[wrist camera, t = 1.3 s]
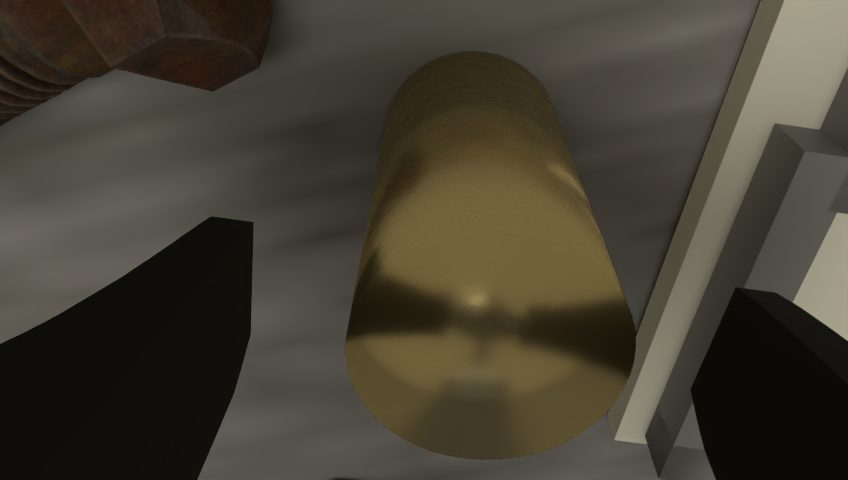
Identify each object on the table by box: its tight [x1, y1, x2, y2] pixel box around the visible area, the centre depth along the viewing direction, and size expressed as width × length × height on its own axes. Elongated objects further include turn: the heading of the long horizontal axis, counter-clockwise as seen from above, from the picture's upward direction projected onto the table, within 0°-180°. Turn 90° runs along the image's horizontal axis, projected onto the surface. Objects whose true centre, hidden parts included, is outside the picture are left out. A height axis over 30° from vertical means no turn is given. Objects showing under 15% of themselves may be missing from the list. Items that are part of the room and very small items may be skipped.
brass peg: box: [345, 51, 636, 460], centre depth 13 cm, size 4×4×8 cm
